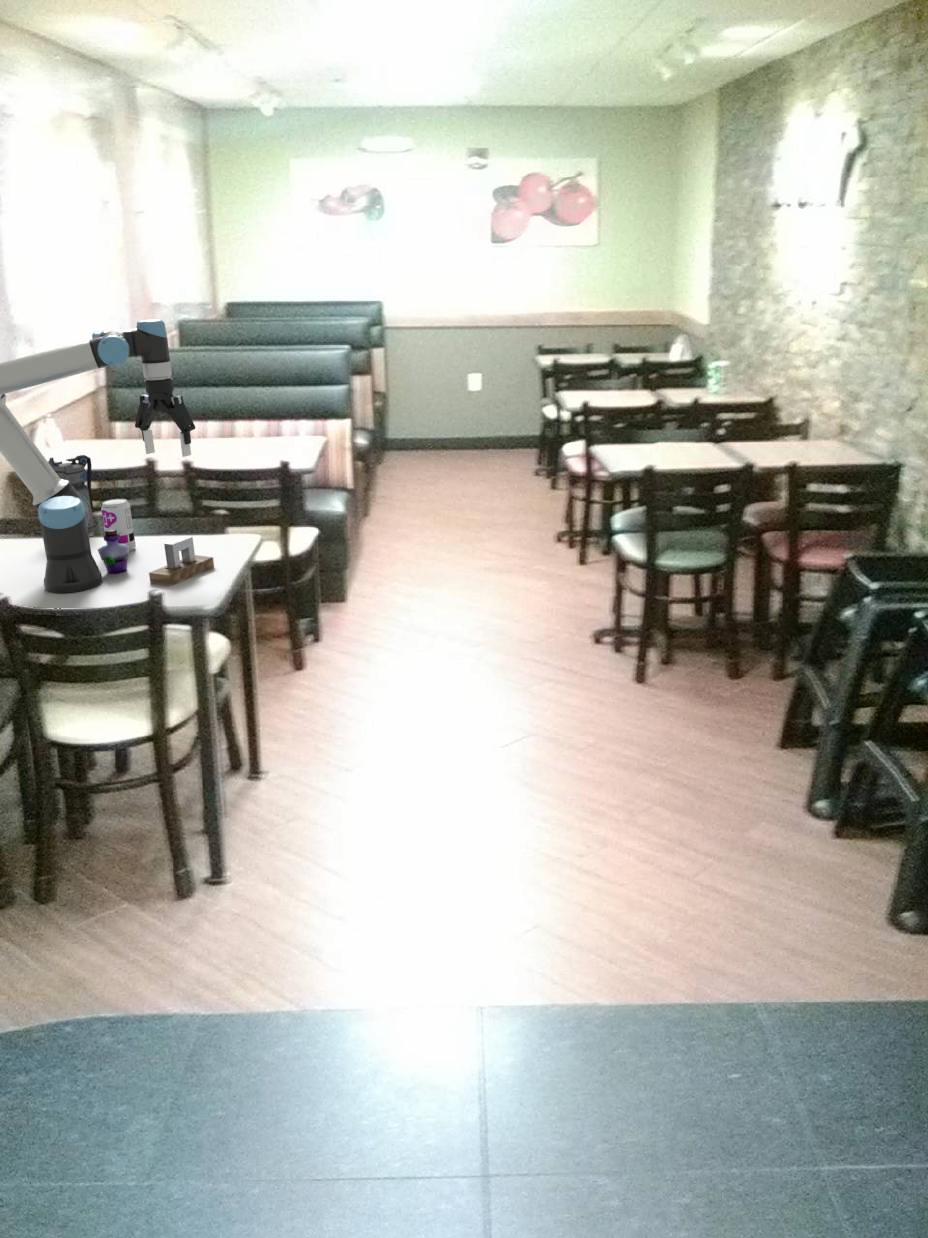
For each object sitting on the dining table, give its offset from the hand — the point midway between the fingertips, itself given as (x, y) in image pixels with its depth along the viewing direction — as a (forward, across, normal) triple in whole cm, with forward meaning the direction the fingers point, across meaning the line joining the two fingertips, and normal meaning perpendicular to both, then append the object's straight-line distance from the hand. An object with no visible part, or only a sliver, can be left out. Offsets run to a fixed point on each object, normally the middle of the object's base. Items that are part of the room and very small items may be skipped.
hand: (168, 454), depth 322 cm
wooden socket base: (+31, -11, +12) cm, 35 cm away
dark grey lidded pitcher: (+31, +54, -12) cm, 63 cm away
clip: (+30, -11, +12) cm, 34 cm away
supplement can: (+31, +25, -1) cm, 40 cm away
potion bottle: (+31, +10, +16) cm, 36 cm away
